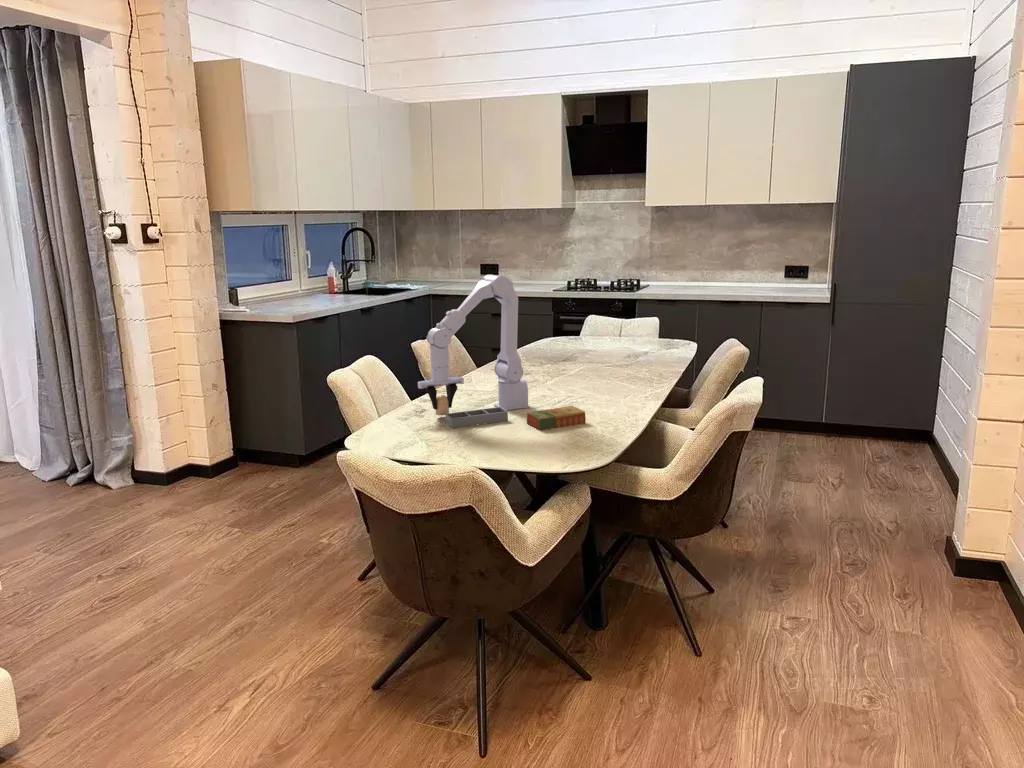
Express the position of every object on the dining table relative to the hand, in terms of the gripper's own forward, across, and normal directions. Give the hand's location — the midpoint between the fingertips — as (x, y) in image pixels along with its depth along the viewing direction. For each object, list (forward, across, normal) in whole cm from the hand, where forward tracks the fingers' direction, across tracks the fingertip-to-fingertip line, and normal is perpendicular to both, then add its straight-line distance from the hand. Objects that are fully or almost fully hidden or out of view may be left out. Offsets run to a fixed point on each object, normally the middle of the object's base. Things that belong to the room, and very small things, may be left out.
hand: (442, 408), depth 237 cm
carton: (+4, +29, -23) cm, 37 cm away
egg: (+2, 0, 0) cm, 2 cm away
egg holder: (+3, +8, -10) cm, 13 cm away
